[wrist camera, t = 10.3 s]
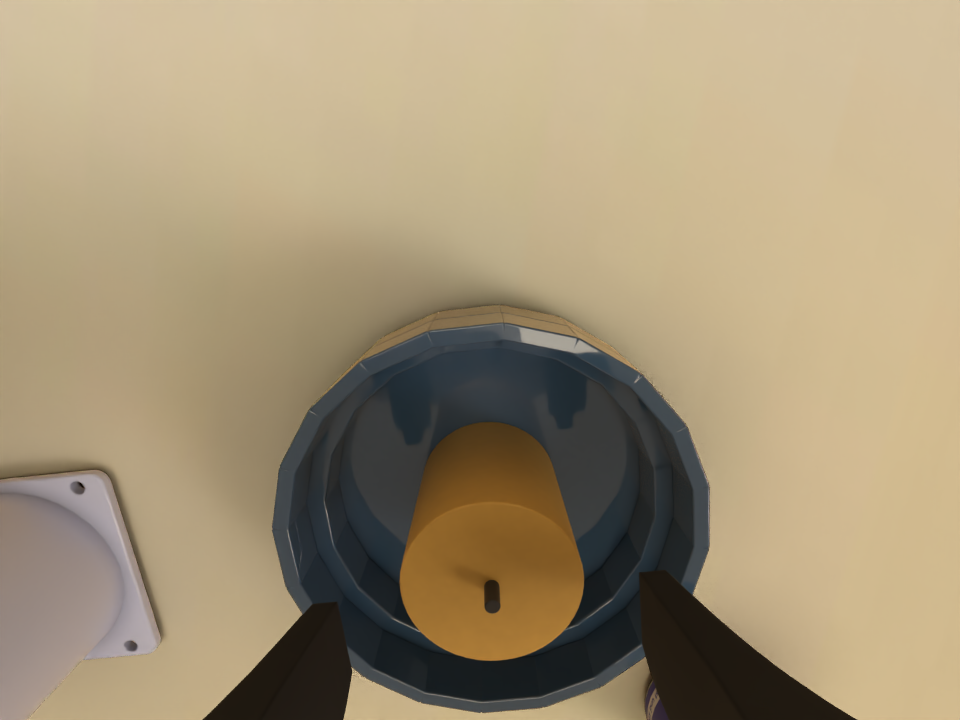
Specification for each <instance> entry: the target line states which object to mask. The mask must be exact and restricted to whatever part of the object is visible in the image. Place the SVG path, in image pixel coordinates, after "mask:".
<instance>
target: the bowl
mask: <svg viewBox="0 0 960 720" xmlns="http://www.w3.org/2000/svg"><path fill="white" fill-rule="evenodd" d="M481 422H497V423H504V424H508V425H511V426H514V427H517V428H519V429H521V430H523V431H525V432H526V433H528V434H529V435H531V436H532V437H533V438H535V439H536V440H537V441H538V442H539V443H540V444H541V445H542V447H543V448H544V449H545V451H546V452H547V454H548V456H549V458H550V460H551V462H552V465H553V468H554V472H555V475H556V478H557V482H558V485H559V488H560V492H561V495H562V498H563V502H564V505H565V508H566V512H567V515H568V519H569V522H570V525H571V529H572V532H573V535H574V539H575V542H576V545H577V549H578V552H579V555H580V559H581V562H582V565H583V572H584V589H583V595H582V599H581V602H580V605H579V608H578V610H577V612H576V614H575V616H574V618H573V619H572V621H571V622H570V624H569V625H568V626H567V627H566V629H565V630H564V631H563V632H562V633H561V634H560V635H559V636H558V637H557V638H555V639H554V640H553V641H552V642H550V643H549V644H547V645H546V646H544V647H542V648H540V649H539V650H537V651H535V652H532V653H530V654H527V655H524V656H521V657H517V658H513V659H507V660H496V661H486V660H476V659H471V658H466V657H462V656H459V655H456V654H453V653H451V652H449V651H446V650H445V649H443V648H441V647H439V646H438V645H436V644H435V643H433V642H432V641H430V640H429V639H428V638H427V637H426V636H425V635H424V634H422V633H421V632H420V631H419V629H418V628H417V627H416V626H415V624H414V623H413V622H412V620H411V618H410V617H409V615H408V613H407V611H406V609H405V606H404V604H403V600H402V596H401V592H400V570H401V565H402V561H403V556H404V552H405V548H406V544H407V540H408V536H409V531H410V527H411V523H412V519H413V515H414V511H415V506H416V502H417V498H418V494H419V490H420V486H421V481H422V477H423V473H424V469H425V466H426V463H427V460H428V458H429V456H430V454H431V452H432V451H433V450H434V448H435V447H436V446H437V445H438V444H439V442H440V441H441V440H442V439H444V438H445V437H446V436H447V435H449V434H450V433H452V432H454V431H455V430H457V429H459V428H462V427H464V426H467V425H470V424H475V423H481ZM272 532H273V536H274V540H275V544H276V549H277V553H278V557H279V561H280V565H281V570H282V574H283V578H284V582H285V586H286V587H287V590H288V592H289V594H290V595H291V597H292V598H293V600H294V601H295V603H296V605H297V606H298V608H299V609H300V611H301V612H302V614H304V612H305V611H306V610H307V609H308V608H309V607H310V606H311V605H312V604H316V603H327V602H338V606H339V611H340V616H341V621H342V625H343V630H344V635H345V639H346V644H347V649H348V654H349V658H350V663H351V667H352V668H353V669H355V670H356V671H357V672H358V673H359V674H361V675H362V676H363V677H365V678H366V679H368V680H370V681H373V682H375V683H377V684H379V685H381V686H384V687H386V688H388V689H390V690H392V691H395V692H397V693H399V694H401V695H404V696H406V697H408V698H410V699H412V700H415V701H417V702H421V703H423V704H429V705H435V706H441V707H447V708H453V709H459V710H465V711H471V712H477V713H481V712H482V713H491V712H502V711H514V710H526V709H537V708H542V707H547V706H550V705H553V704H556V703H559V702H562V701H564V700H567V699H570V698H573V697H576V696H578V695H581V694H584V693H587V692H590V691H593V690H595V689H598V688H600V687H601V686H604V685H606V684H607V683H608V682H610V681H611V680H613V679H614V678H616V677H617V676H618V675H620V674H621V673H623V672H624V671H626V670H627V669H628V668H630V667H631V666H633V665H634V664H636V663H637V662H638V661H640V660H641V659H643V658H644V657H646V656H645V653H644V649H643V646H642V632H641V608H640V583H639V572H648V571H658V570H666V571H667V572H668V573H669V574H671V575H672V576H673V577H674V578H675V579H676V580H677V581H678V582H679V583H680V584H681V585H682V586H683V587H684V588H685V589H686V590H687V591H689V592H690V593H691V594H692V595H693V593H694V590H695V587H696V584H697V581H698V579H699V576H700V573H701V570H702V568H703V565H704V562H705V559H706V557H707V554H708V551H709V546H710V487H709V483H708V480H707V477H706V475H705V472H704V469H703V467H702V464H701V461H700V459H699V456H698V453H697V451H696V448H695V445H694V443H693V440H692V438H691V435H690V432H689V430H688V427H687V426H686V424H685V423H684V421H683V420H682V419H681V418H680V417H679V416H678V414H677V413H676V412H675V411H674V410H673V409H672V408H671V406H670V405H669V404H668V403H667V402H666V401H665V399H664V398H663V397H662V396H661V395H660V394H659V393H658V391H657V390H656V389H655V388H654V387H653V386H652V384H651V383H650V382H649V381H648V380H647V379H646V378H645V376H644V375H643V374H642V373H641V372H639V371H638V370H637V369H636V368H635V367H634V366H633V365H632V364H631V363H629V362H628V361H627V360H626V359H625V358H624V357H623V356H622V355H620V354H619V353H618V352H617V351H616V350H615V349H614V348H612V347H611V346H610V345H608V344H607V343H605V342H603V341H601V340H600V339H598V338H596V337H594V336H593V335H591V334H589V333H587V332H586V331H584V330H582V329H580V328H579V327H577V326H575V325H573V324H572V323H570V322H568V321H567V320H565V319H563V318H560V317H559V316H554V315H549V314H544V313H539V312H534V311H530V310H525V309H520V308H515V307H510V306H505V305H500V306H499V305H491V306H482V307H473V308H464V309H455V310H446V311H440V312H439V313H438V312H437V313H433V314H431V315H429V316H427V317H425V318H422V319H420V320H418V321H416V322H414V323H411V324H409V325H407V326H405V327H403V328H400V329H398V330H396V331H394V332H392V333H389V334H387V335H385V336H384V337H383V338H381V339H380V340H378V341H377V342H376V343H375V344H374V345H373V346H372V347H371V348H370V349H369V350H368V351H367V352H366V353H365V354H363V355H362V356H361V357H360V358H359V359H358V360H357V361H356V362H355V363H354V364H353V365H352V366H351V367H350V368H349V369H347V370H346V371H345V372H344V373H343V374H342V375H341V376H340V377H339V378H338V379H337V380H336V381H335V382H334V383H333V384H332V385H331V387H330V388H329V389H328V390H327V391H326V392H325V393H324V394H323V395H322V396H321V397H320V398H319V399H318V400H317V401H316V402H315V403H314V404H313V405H312V406H311V407H310V409H309V410H308V412H307V414H306V416H305V417H304V419H303V421H302V423H301V425H300V427H299V429H298V431H297V433H296V435H295V437H294V439H293V441H292V443H291V445H290V447H289V449H288V451H287V453H286V454H285V456H284V458H283V460H282V462H281V464H280V468H279V473H278V481H277V490H276V498H275V507H274V515H273V524H272Z"/></svg>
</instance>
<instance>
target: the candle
mask: <svg viewBox="0 0 960 720" xmlns="http://www.w3.org/2000/svg"><path fill="white" fill-rule="evenodd" d="M583 589H584V572H583V565H582V562H581V559H580V555H579V552H578V549H577V545H576V542H575V539H574V535H573V532H572V529H571V525H570V522H569V519H568V515H567V512H566V508H565V505H564V502H563V498H562V495H561V492H560V488H559V485H558V482H557V478H556V475H555V472H554V468H553V465H552V462H551V460H550V458H549V456H548V454H547V452H546V451H545V449H544V448H543V447H542V445H541V444H540V443H539V442H538V441H537V440H536V439H535V438H533V437H532V436H531V435H529V434H528V433H526V432H525V431H523V430H521V429H519V428H517V427H514V426H511V425H508V424H504V423H497V422H481V423H475V424H470V425H467V426H464V427H462V428H459V429H457V430H455V431H454V432H452V433H450V434H449V435H447V436H446V437H445V438H444V439H442V440H441V441H440V442H439V444H438V445H437V446H436V447H435V448H434V450H433V451H432V452H431V454H430V456H429V458H428V460H427V463H426V466H425V469H424V473H423V477H422V481H421V486H420V490H419V494H418V498H417V502H416V506H415V511H414V515H413V519H412V523H411V527H410V531H409V536H408V540H407V544H406V548H405V552H404V556H403V561H402V565H401V570H400V592H401V596H402V600H403V604H404V606H405V609H406V611H407V613H408V615H409V617H410V618H411V620H412V622H413V623H414V624H415V626H416V627H417V628H418V629H419V631H420V632H421V633H422V634H424V635H425V636H426V637H427V638H428V639H429V640H430V641H432V642H433V643H435V644H436V645H438V646H439V647H441V648H443V649H445V650H446V651H449V652H451V653H453V654H456V655H459V656H462V657H466V658H471V659H476V660H486V661H496V660H507V659H513V658H517V657H521V656H524V655H527V654H530V653H532V652H535V651H537V650H539V649H540V648H542V647H544V646H546V645H547V644H549V643H550V642H552V641H553V640H554V639H555V638H557V637H558V636H559V635H560V634H561V633H562V632H563V631H564V630H565V629H566V627H567V626H568V625H569V624H570V622H571V621H572V619H573V618H574V616H575V614H576V612H577V610H578V608H579V605H580V602H581V599H582V595H583Z"/></svg>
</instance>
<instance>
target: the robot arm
mask: <svg viewBox="0 0 960 720" xmlns="http://www.w3.org/2000/svg"><path fill="white" fill-rule="evenodd" d="M79 482H80V483H82V484H83V485H84V487H85V489H84V488H82V487H81V486H80V485H79ZM639 583H640V608H641V632H642V646H643V649H644V653H645V656H646V659H647V663H648V666H649V669H650V672H651V675H652V678H653V681H654V685H655V688H656V691H657V693H658V695H659V698H660V700H661V703H662V705H663V707H664V709H665V712H666V714H667V716H668V719H669V720H856V719H855V718H853V717H851V716H850V715H848V714H846V713H845V712H843V711H842V710H840V709H838V708H837V707H835V706H834V705H832V704H830V703H829V702H827V701H826V700H824V699H823V698H821V697H820V696H818V695H817V694H815V693H814V692H812V691H811V690H809V689H808V688H807V687H805V686H804V685H802V684H801V683H799V682H798V681H796V680H795V679H793V678H792V677H790V676H789V675H788V674H786V673H785V672H784V671H782V670H781V669H779V668H778V667H777V666H775V665H774V664H773V663H771V662H770V661H769V660H768V659H766V658H765V657H764V656H762V655H761V654H760V653H759V652H757V651H756V650H755V649H754V648H752V647H751V646H750V645H749V644H747V643H746V642H745V641H744V640H743V639H741V638H740V637H739V636H738V635H737V634H735V633H734V632H733V631H732V630H731V629H730V628H729V627H727V626H726V625H725V624H724V623H723V622H722V621H720V620H719V619H718V618H717V617H716V616H715V615H714V614H712V613H711V612H710V611H709V610H708V609H707V608H706V607H705V606H704V605H703V604H701V603H700V602H699V601H698V600H697V599H696V598H695V597H694V596H693V595H692V594H691V593H690V592H689V591H687V590H686V589H685V588H684V587H683V586H682V585H681V584H680V583H679V582H678V581H677V580H676V579H675V578H674V577H673V576H672V575H671V574H669V573H668V572H667V571H666V570H658V571H648V572H639ZM133 641H134V642H133ZM160 642H161V637H160V633H159V630H158V627H157V624H156V621H155V618H154V615H153V611H152V608H151V605H150V602H149V599H148V596H147V593H146V590H145V586H144V583H143V580H142V577H141V574H140V571H139V568H138V564H137V561H136V558H135V555H134V552H133V549H132V546H131V542H130V539H129V536H128V533H127V530H126V527H125V524H124V521H123V517H122V514H121V511H120V508H119V505H118V502H117V499H116V495H115V492H114V489H113V486H112V483H111V480H110V478H109V476H108V475H107V474H105V473H104V472H102V471H100V470H86V471H77V472H67V473H57V474H48V475H38V476H28V477H19V478H9V479H0V720H27V719H28V718H29V717H30V716H31V715H32V714H33V713H34V712H35V710H36V709H37V708H38V707H39V706H40V705H41V704H42V703H43V702H44V701H45V700H46V699H47V698H48V696H49V695H50V694H51V693H52V692H53V691H54V690H55V689H56V688H57V687H58V686H59V685H60V684H61V682H62V681H63V680H64V679H65V678H66V677H67V676H68V675H69V674H70V673H71V672H72V671H73V670H74V668H75V667H76V666H77V665H78V664H79V663H80V662H81V661H82V660H89V659H100V658H111V657H122V656H132V655H143V654H150V653H152V652H153V651H155V650H156V648H157V647H158V646H159V644H160ZM351 676H352V668H351V663H350V658H349V654H348V649H347V644H346V639H345V635H344V630H343V625H342V621H341V616H340V611H339V606H338V602H327V603H316V604H312V605H311V606H310V607H309V608H308V609H307V610H306V611H305V612H304V614H303V615H302V616H301V617H300V618H299V619H298V620H297V621H296V622H295V624H294V625H293V626H292V627H291V628H290V629H289V630H288V631H287V633H286V634H285V635H284V636H283V637H282V638H281V639H280V640H279V642H278V643H277V644H276V645H275V646H274V647H273V648H272V649H271V650H270V651H269V653H268V654H267V655H266V656H265V657H264V658H263V659H262V660H261V661H260V662H259V663H258V665H257V666H256V667H255V668H254V669H253V670H252V671H251V672H250V673H249V674H248V675H247V676H246V677H245V678H244V679H243V680H242V681H241V682H240V683H239V684H238V685H237V686H236V687H235V688H234V689H233V690H232V691H231V692H230V693H229V694H228V695H227V696H226V697H225V698H224V699H223V700H222V701H221V702H220V703H219V704H218V705H217V706H216V707H215V708H214V709H213V710H212V711H211V712H210V713H209V714H208V715H207V716H206V717H205V718H204V719H203V720H343V719H344V714H345V709H346V704H347V699H348V693H349V687H350V682H351Z"/></svg>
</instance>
